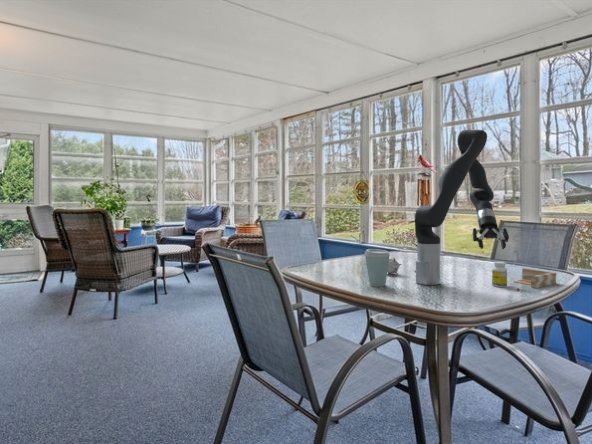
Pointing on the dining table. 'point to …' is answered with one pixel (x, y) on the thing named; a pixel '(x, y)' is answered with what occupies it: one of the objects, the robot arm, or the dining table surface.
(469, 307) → the dining table surface
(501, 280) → the supplement bottle
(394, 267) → the grey angular lump
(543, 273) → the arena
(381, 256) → the disposable coffee cup
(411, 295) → the dining table surface
